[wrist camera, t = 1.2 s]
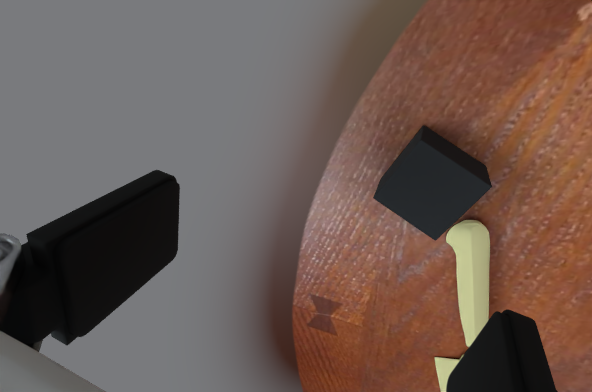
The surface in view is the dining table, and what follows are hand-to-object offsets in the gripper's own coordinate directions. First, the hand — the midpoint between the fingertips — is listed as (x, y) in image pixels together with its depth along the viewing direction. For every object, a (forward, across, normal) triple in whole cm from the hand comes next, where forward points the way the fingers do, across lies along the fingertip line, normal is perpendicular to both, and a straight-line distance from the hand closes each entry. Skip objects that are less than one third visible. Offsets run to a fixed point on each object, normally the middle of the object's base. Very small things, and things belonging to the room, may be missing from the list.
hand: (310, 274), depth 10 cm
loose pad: (+17, -4, +2) cm, 18 cm away
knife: (+18, -14, +20) cm, 30 cm away
